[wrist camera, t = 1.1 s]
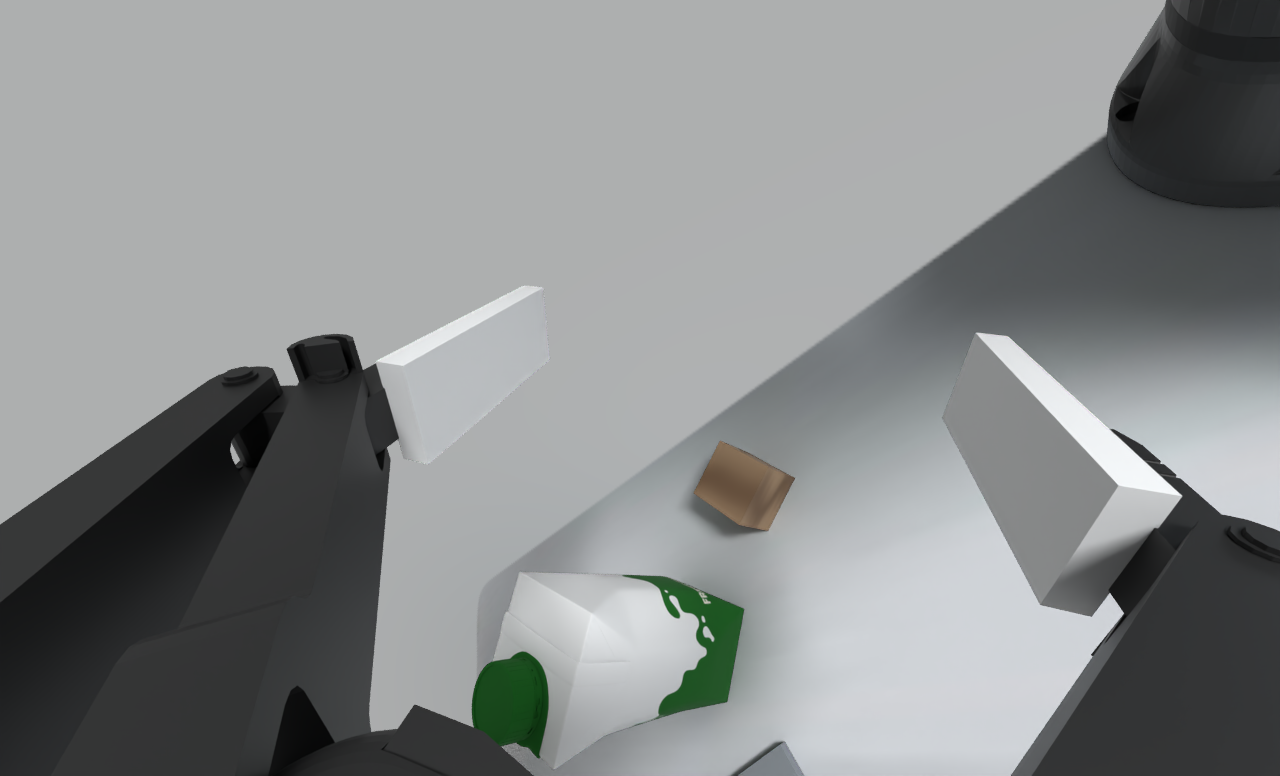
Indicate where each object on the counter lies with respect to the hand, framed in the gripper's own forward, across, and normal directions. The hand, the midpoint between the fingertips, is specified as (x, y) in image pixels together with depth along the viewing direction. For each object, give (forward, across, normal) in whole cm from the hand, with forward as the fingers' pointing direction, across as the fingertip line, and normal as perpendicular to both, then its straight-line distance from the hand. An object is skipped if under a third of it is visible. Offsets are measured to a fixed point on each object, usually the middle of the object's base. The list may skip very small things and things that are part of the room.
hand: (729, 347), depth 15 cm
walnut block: (+19, +2, -21) cm, 29 cm away
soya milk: (+12, 0, -32) cm, 34 cm away
